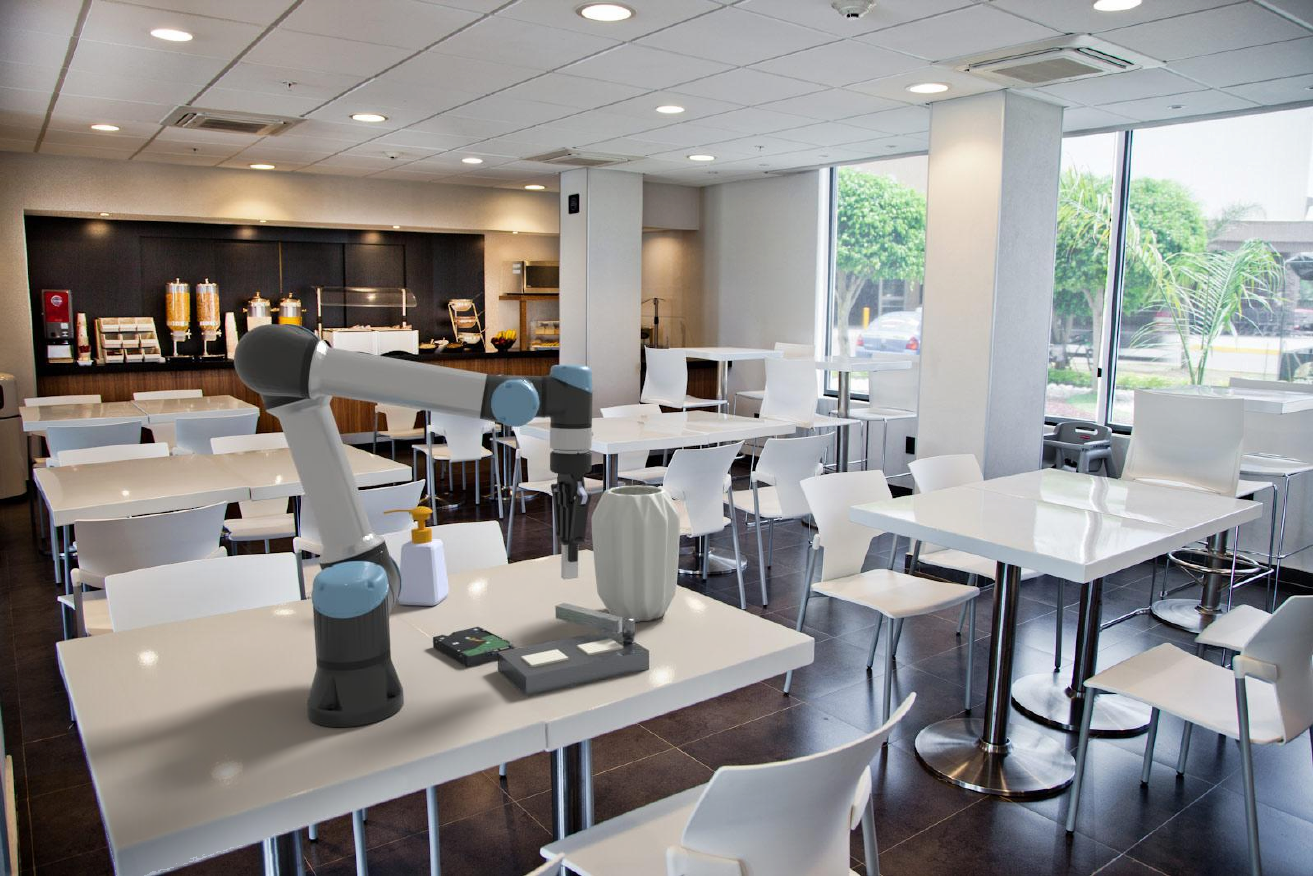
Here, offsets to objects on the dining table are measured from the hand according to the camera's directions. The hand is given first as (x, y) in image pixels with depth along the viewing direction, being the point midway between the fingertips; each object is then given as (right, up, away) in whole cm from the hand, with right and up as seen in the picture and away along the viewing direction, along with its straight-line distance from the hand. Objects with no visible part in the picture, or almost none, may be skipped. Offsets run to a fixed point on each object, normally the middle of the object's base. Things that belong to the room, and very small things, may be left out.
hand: (569, 577), depth 167 cm
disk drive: (-20, -17, +10) cm, 28 cm away
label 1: (-4, -14, -5) cm, 15 cm away
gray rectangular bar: (+4, -11, +9) cm, 15 cm away
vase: (+12, -13, +32) cm, 37 cm away
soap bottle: (-40, -12, +44) cm, 61 cm away
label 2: (+6, -13, +1) cm, 14 cm away
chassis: (+1, -17, -1) cm, 17 cm away
